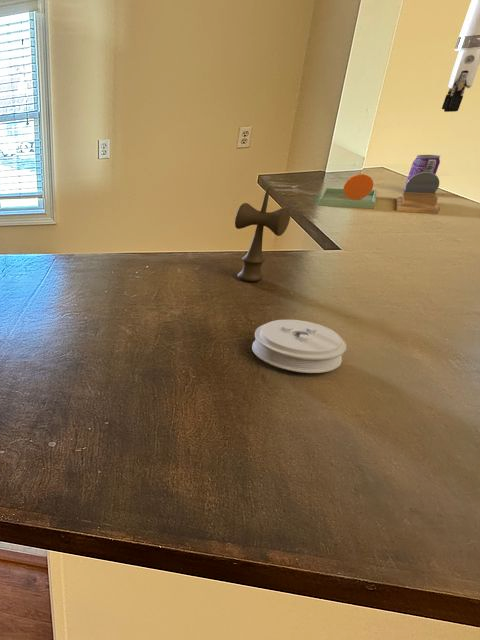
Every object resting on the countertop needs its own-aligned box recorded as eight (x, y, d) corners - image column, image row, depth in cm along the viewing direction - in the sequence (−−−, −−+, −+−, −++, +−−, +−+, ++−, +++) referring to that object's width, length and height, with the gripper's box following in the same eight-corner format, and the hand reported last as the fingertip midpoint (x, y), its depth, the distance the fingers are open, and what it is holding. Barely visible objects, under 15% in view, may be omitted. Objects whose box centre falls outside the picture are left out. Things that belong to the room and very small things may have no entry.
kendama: (266, 288, 103) (287, 192, 93) (222, 278, 110) (238, 187, 100) (277, 280, 107) (299, 186, 97) (234, 271, 113) (250, 183, 103)
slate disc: (402, 198, 155) (410, 171, 151) (434, 198, 151) (443, 171, 147) (402, 198, 154) (410, 172, 151) (434, 199, 150) (443, 172, 146)
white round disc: (245, 337, 85) (251, 311, 82) (327, 342, 81) (335, 316, 79) (257, 374, 75) (263, 346, 72) (351, 382, 71) (361, 352, 68)
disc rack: (396, 200, 159) (400, 188, 157) (434, 202, 154) (439, 190, 152) (396, 211, 148) (400, 198, 146) (438, 213, 143) (442, 200, 141)
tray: (323, 194, 174) (325, 188, 173) (374, 196, 166) (376, 190, 165) (317, 205, 160) (319, 198, 159) (373, 208, 152) (375, 201, 151)
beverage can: (431, 192, 165) (445, 155, 159) (423, 196, 162) (437, 158, 156) (407, 190, 170) (420, 154, 164) (398, 193, 167) (411, 156, 161)
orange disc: (337, 190, 164) (358, 169, 158) (358, 203, 162) (379, 182, 156) (337, 190, 163) (357, 169, 157) (358, 204, 161) (379, 183, 156)
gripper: (495, 41, 130) (468, 112, 138) (486, 42, 142) (462, 107, 150) (458, 44, 134) (435, 113, 142) (453, 45, 146) (431, 108, 154)
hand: (449, 110), depth 146 cm, fingers open, 9 cm apart
